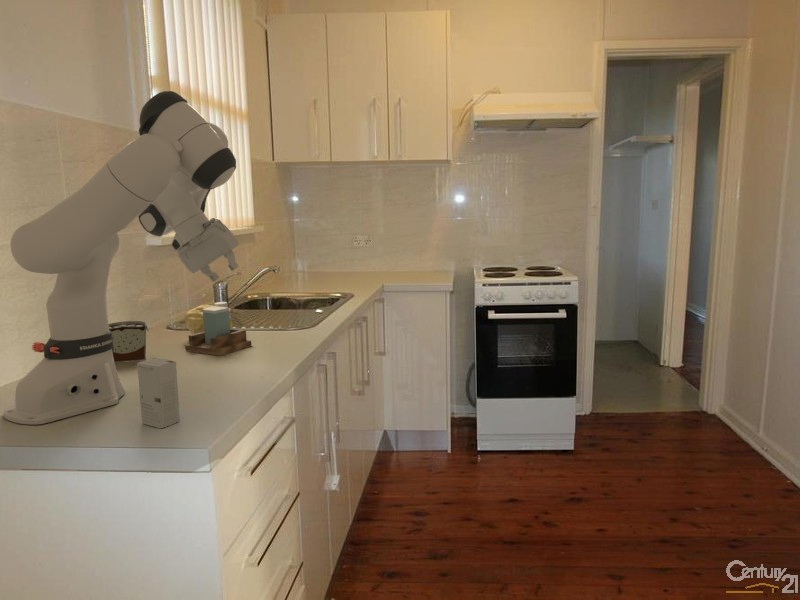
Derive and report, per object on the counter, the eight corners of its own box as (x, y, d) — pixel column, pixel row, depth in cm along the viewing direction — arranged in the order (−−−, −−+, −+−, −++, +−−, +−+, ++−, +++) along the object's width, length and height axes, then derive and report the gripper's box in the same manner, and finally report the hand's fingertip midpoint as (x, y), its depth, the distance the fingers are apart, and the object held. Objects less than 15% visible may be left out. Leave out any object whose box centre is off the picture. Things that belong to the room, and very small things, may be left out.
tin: (217, 345, 163) (214, 310, 161) (205, 344, 165) (202, 309, 164) (231, 341, 167) (228, 307, 165) (219, 340, 170) (216, 306, 168)
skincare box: (140, 424, 109) (134, 362, 107) (160, 416, 113) (154, 356, 111) (163, 429, 106) (156, 366, 104) (182, 421, 110) (176, 360, 108)
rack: (219, 355, 158) (218, 339, 157) (185, 350, 165) (184, 334, 164) (251, 345, 168) (250, 330, 167) (217, 341, 175) (216, 326, 174)
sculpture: (180, 341, 176) (177, 306, 174) (210, 332, 186) (207, 300, 184) (208, 344, 170) (205, 309, 169) (237, 335, 181) (234, 302, 179)
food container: (155, 353, 162) (151, 319, 160) (151, 359, 156) (147, 323, 154) (107, 357, 159) (103, 322, 157) (101, 363, 153) (97, 327, 151)
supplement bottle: (210, 335, 183) (207, 303, 182) (224, 331, 188) (221, 300, 186) (223, 336, 181) (220, 304, 179) (236, 333, 185) (233, 301, 184)
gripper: (224, 210, 147) (255, 256, 150) (184, 239, 159) (214, 280, 162) (207, 220, 142) (239, 267, 145) (167, 248, 155) (198, 291, 158)
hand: (225, 274), depth 154 cm, fingers open, 8 cm apart
